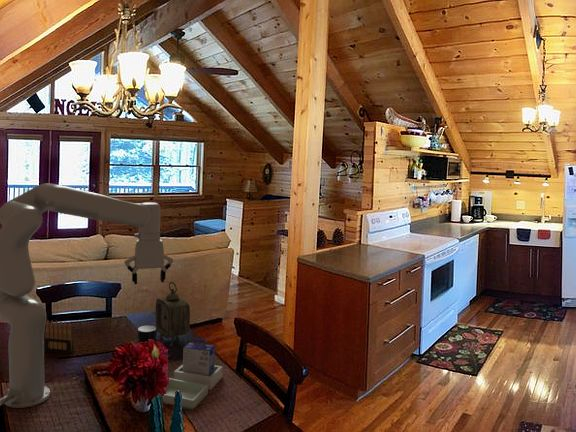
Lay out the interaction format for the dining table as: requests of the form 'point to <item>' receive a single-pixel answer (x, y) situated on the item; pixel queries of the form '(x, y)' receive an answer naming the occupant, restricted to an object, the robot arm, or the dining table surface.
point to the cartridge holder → (199, 376)
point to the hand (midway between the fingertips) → (148, 282)
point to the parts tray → (186, 393)
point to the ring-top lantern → (172, 316)
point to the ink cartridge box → (199, 358)
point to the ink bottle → (147, 333)
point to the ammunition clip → (58, 338)
